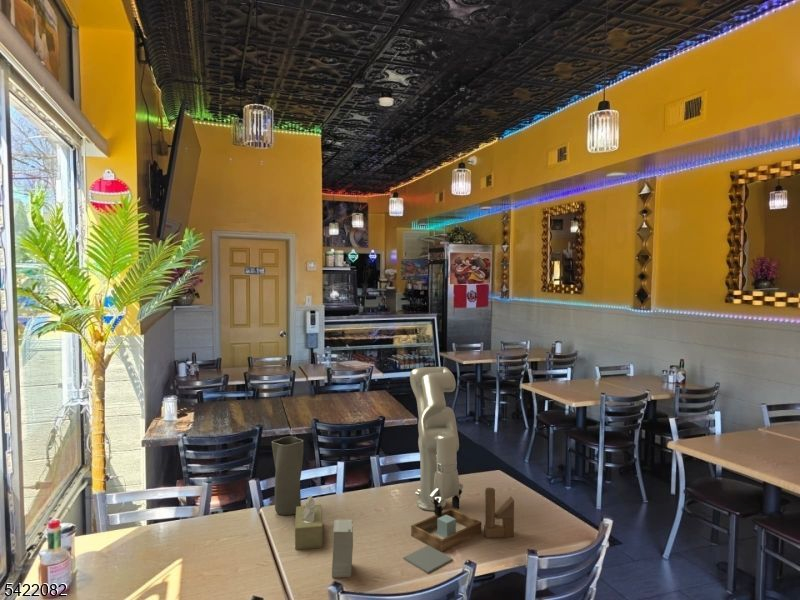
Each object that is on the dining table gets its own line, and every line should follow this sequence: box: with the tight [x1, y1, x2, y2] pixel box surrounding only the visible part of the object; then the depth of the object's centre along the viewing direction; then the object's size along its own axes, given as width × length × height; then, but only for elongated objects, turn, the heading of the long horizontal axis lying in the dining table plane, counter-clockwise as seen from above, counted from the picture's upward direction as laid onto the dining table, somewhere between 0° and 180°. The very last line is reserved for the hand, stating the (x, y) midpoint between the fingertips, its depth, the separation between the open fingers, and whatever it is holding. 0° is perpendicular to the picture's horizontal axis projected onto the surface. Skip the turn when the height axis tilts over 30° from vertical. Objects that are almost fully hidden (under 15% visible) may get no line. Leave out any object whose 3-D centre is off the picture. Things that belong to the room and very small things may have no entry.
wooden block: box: [483, 487, 515, 539], centre depth 193 cm, size 4×11×18 cm, turn 96°
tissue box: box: [294, 495, 324, 550], centre depth 193 cm, size 19×10×16 cm, turn 10°
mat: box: [402, 545, 453, 574], centre depth 176 cm, size 12×12×1 cm
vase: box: [271, 436, 304, 516], centre depth 214 cm, size 12×12×30 cm
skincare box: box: [331, 519, 354, 578], centre depth 169 cm, size 8×7×16 cm
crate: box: [410, 508, 482, 553], centre depth 194 cm, size 16×22×4 cm
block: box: [436, 515, 457, 539], centre depth 194 cm, size 5×5×6 cm
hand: (447, 511), depth 193 cm, fingers open, 9 cm apart
